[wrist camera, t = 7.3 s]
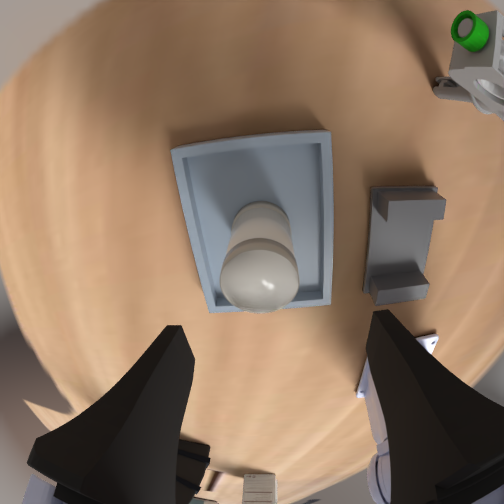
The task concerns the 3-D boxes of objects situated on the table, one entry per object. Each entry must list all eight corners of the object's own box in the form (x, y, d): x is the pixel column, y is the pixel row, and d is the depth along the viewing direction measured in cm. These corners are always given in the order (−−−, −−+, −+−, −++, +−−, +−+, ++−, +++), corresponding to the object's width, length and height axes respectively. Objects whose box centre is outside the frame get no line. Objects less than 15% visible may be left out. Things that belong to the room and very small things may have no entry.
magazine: (225, 461, 40) (178, 519, 27) (165, 422, 44) (114, 472, 31) (228, 456, 38) (179, 518, 26) (165, 414, 42) (110, 468, 29)
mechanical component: (482, 138, 14) (582, 184, 5) (370, 72, 13) (476, 56, 4) (491, 105, 12) (592, 136, 4) (380, 33, 12) (481, -7, 3)
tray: (327, 292, 21) (330, 304, 20) (212, 300, 22) (209, 312, 21) (325, 129, 15) (330, 132, 14) (178, 145, 16) (170, 150, 15)
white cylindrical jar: (292, 250, 19) (301, 309, 14) (237, 255, 19) (227, 315, 14) (287, 197, 17) (297, 244, 12) (228, 204, 18) (212, 253, 12)
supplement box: (277, 479, 52) (277, 522, 41) (248, 479, 53) (245, 521, 42) (276, 473, 48) (275, 520, 37) (243, 473, 49) (240, 519, 38)
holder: (418, 283, 20) (428, 299, 19) (362, 290, 21) (370, 308, 19) (435, 185, 16) (451, 196, 14) (370, 186, 17) (382, 198, 15)
